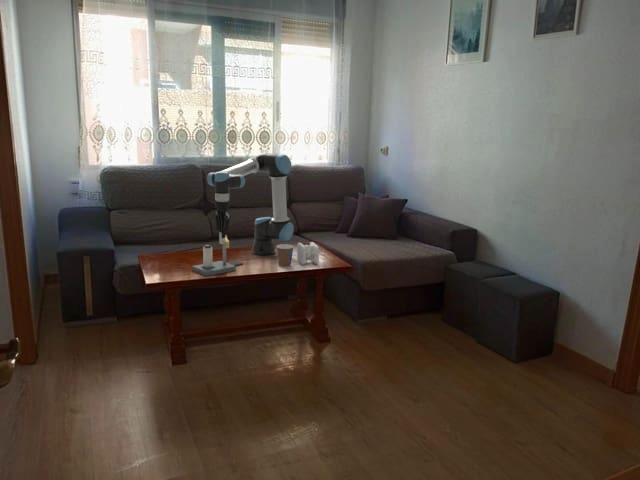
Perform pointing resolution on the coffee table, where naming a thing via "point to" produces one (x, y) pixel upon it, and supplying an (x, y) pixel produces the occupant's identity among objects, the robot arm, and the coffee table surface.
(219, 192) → the robot arm
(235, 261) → the pad
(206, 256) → the plug
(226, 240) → the clip
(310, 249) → the cable organizer
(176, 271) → the coffee table surface
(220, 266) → the socket plate
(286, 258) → the coffee cup
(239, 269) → the coffee table surface
